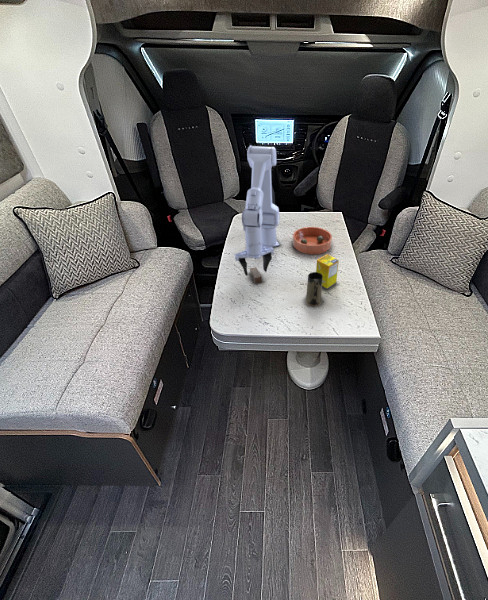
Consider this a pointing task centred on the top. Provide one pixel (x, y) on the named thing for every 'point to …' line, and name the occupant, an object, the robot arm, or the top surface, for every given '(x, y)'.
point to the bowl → (312, 240)
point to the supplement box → (327, 270)
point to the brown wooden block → (255, 275)
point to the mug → (314, 289)
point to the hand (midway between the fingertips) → (255, 272)
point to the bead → (320, 239)
